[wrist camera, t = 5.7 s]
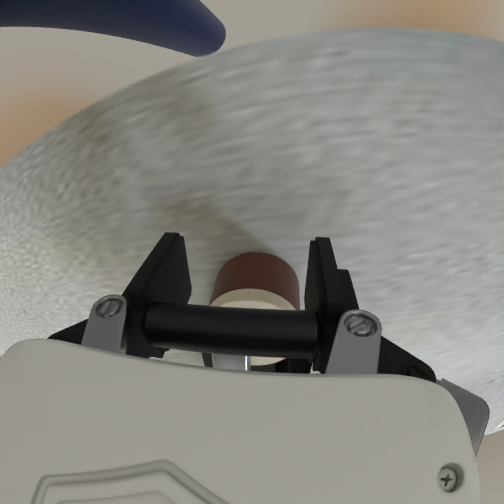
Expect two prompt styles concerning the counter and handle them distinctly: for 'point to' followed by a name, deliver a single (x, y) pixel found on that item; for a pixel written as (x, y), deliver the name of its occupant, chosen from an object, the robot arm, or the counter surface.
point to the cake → (257, 287)
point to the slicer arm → (232, 332)
